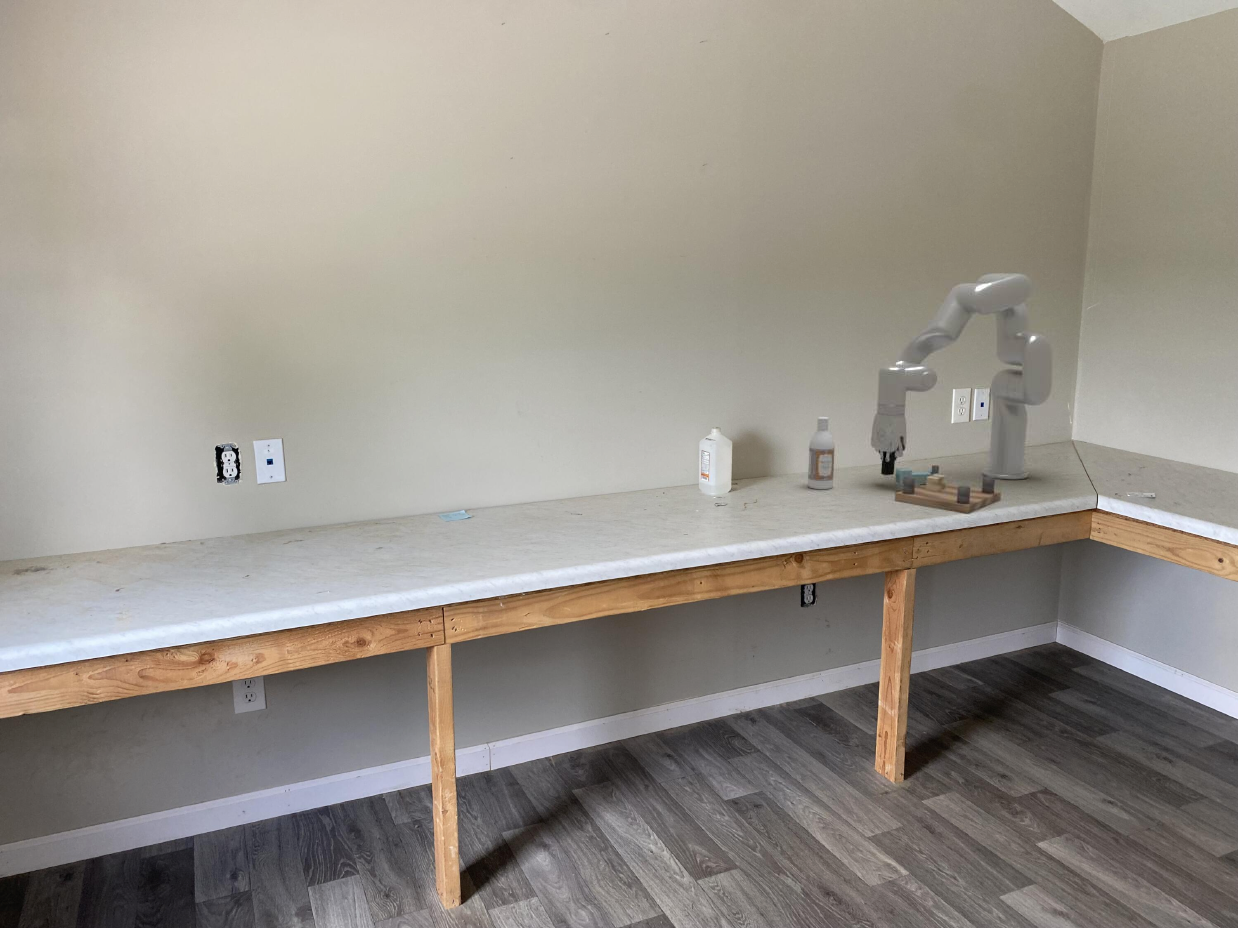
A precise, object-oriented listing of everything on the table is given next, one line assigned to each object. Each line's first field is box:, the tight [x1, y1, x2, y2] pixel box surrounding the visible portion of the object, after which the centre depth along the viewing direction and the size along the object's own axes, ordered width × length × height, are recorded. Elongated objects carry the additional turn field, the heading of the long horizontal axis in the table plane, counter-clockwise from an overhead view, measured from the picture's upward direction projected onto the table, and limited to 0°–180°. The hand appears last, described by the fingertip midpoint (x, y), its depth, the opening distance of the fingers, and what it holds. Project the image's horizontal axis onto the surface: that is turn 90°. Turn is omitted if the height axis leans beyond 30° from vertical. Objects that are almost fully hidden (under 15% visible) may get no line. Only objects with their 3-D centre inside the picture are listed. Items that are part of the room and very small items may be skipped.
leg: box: [895, 467, 944, 486], centre depth 253 cm, size 12×4×4 cm, turn 96°
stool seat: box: [894, 464, 1002, 514], centre depth 243 cm, size 20×20×7 cm
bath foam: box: [807, 416, 835, 490], centre depth 258 cm, size 7×7×20 cm
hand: (887, 474), depth 259 cm, fingers closed
